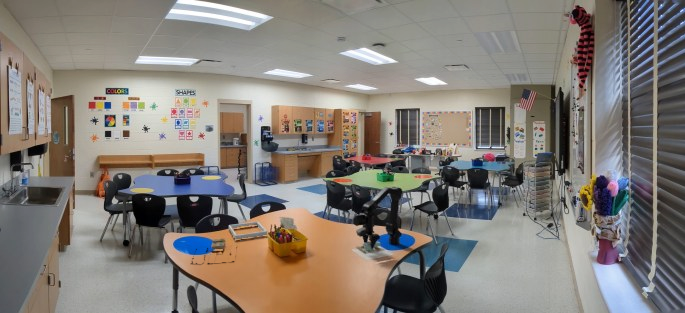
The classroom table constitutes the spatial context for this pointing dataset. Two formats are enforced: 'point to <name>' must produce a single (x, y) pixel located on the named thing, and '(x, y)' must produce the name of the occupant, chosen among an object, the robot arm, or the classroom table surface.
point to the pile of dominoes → (218, 244)
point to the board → (373, 253)
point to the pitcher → (287, 223)
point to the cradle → (364, 250)
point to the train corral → (248, 233)
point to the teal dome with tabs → (368, 245)
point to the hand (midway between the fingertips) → (368, 246)
